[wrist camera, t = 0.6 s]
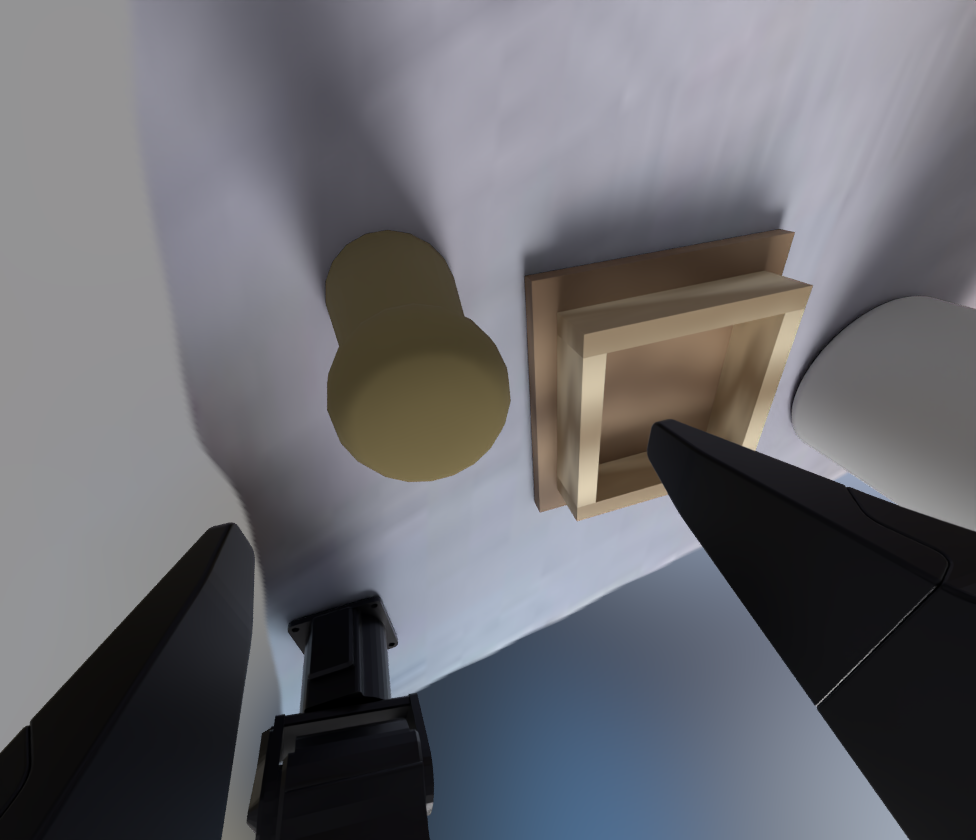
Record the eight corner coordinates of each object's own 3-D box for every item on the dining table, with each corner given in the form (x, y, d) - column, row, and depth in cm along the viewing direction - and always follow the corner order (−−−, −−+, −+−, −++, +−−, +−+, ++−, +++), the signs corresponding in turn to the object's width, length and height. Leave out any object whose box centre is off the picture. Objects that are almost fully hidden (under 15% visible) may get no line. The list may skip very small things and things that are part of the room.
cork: (298, 258, 18) (249, 374, 9) (432, 210, 18) (512, 275, 9) (361, 376, 21) (370, 542, 12) (471, 333, 22) (557, 466, 13)
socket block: (716, 451, 32) (757, 485, 29) (534, 502, 30) (557, 546, 27) (779, 229, 23) (848, 243, 20) (524, 275, 21) (557, 300, 18)
